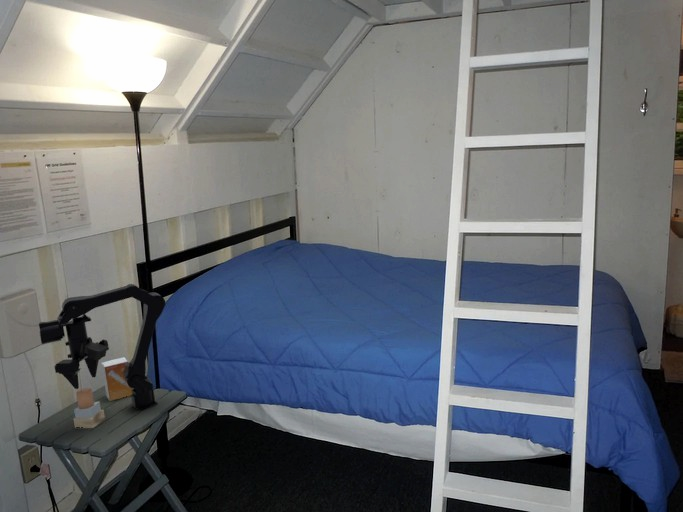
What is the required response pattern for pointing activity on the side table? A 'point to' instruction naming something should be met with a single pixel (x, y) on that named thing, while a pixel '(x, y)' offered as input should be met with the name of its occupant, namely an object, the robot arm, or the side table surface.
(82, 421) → the oak base block
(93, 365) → the robot arm
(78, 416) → the grey-blue top block
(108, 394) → the small box
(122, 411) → the side table surface
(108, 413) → the side table surface
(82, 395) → the terracotta rounded cylinder
